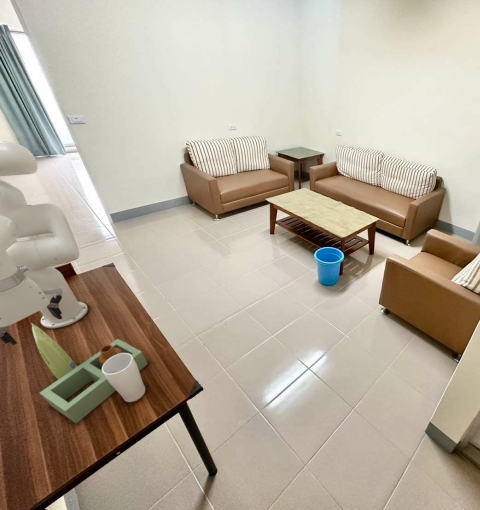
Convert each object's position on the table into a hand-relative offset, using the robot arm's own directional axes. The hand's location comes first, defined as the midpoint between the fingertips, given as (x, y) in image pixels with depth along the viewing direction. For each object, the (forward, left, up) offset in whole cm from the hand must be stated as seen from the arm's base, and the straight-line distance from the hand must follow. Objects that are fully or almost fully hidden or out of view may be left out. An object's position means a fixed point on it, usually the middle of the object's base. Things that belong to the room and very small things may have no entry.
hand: (36, 329), depth 72 cm
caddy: (+13, +2, -19) cm, 23 cm away
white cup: (+24, +4, -19) cm, 31 cm away
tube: (+1, 0, -19) cm, 19 cm away
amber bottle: (+13, +7, -19) cm, 24 cm away
